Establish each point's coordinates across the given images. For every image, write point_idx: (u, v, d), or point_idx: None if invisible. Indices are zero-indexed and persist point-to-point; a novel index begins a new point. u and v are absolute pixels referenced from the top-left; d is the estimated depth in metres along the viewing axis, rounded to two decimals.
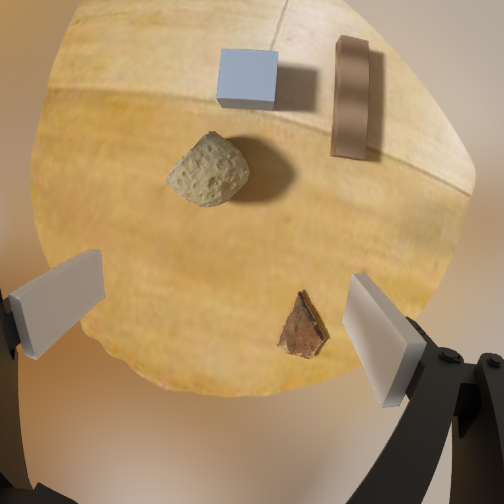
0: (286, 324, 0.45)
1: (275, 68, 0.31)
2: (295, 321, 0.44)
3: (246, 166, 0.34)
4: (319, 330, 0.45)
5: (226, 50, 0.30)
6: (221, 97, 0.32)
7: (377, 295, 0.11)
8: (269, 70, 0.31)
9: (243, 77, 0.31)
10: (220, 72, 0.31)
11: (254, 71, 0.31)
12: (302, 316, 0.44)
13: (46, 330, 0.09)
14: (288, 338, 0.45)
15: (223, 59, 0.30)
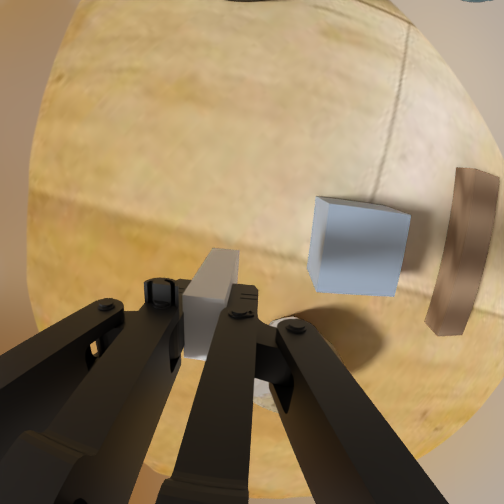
0: None
1: (403, 245, 0.22)
2: None
3: None
4: None
5: (336, 207, 0.21)
6: (324, 291, 0.23)
7: (225, 264, 0.14)
8: (395, 248, 0.22)
9: (358, 260, 0.22)
10: (325, 249, 0.22)
11: (375, 250, 0.22)
12: None
13: None
14: None
15: (331, 225, 0.21)
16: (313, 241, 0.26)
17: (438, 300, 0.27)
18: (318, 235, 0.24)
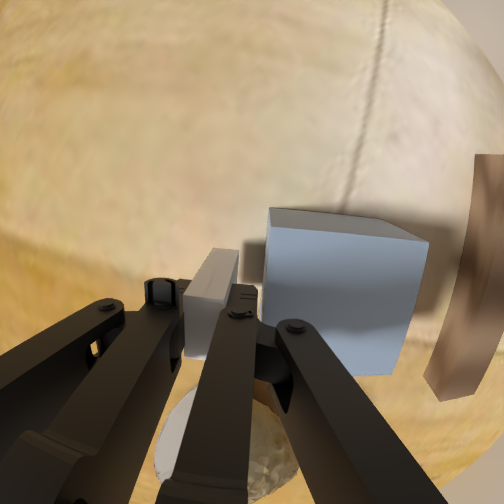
0: None
1: (414, 296, 0.12)
2: None
3: (296, 465, 0.15)
4: None
5: (286, 234, 0.11)
6: None
7: (225, 264, 0.14)
8: (400, 301, 0.12)
9: (331, 325, 0.12)
10: (268, 309, 0.12)
11: (361, 308, 0.12)
12: None
13: None
14: None
15: (276, 267, 0.12)
16: None
17: (444, 352, 0.18)
18: (264, 277, 0.14)
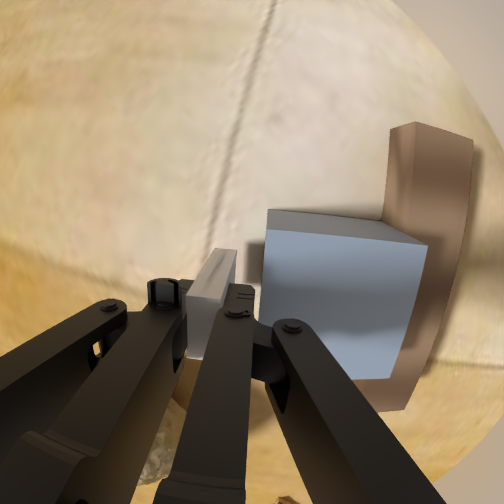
0: None
1: (412, 299, 0.12)
2: None
3: None
4: None
5: (282, 236, 0.11)
6: None
7: (222, 264, 0.14)
8: (397, 305, 0.12)
9: (327, 328, 0.12)
10: (263, 312, 0.12)
11: (358, 311, 0.12)
12: None
13: None
14: None
15: (272, 269, 0.12)
16: None
17: None
18: None
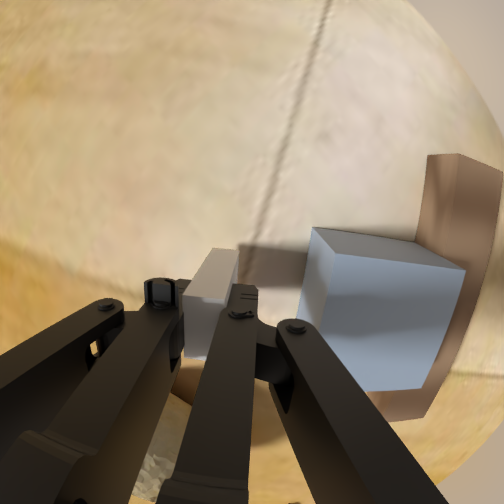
0: None
1: (448, 317, 0.12)
2: None
3: None
4: None
5: (348, 261, 0.11)
6: None
7: (225, 264, 0.14)
8: (436, 323, 0.12)
9: (377, 345, 0.12)
10: (323, 331, 0.12)
11: (405, 329, 0.12)
12: None
13: None
14: None
15: (336, 292, 0.12)
16: (304, 300, 0.17)
17: None
18: (312, 297, 0.14)
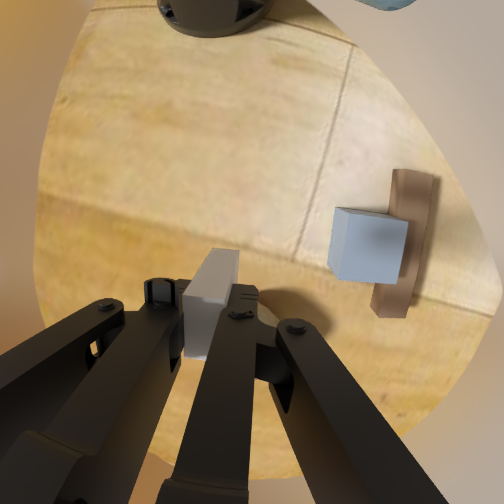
0: None
1: (403, 244, 0.29)
2: None
3: None
4: None
5: (354, 216, 0.28)
6: (344, 279, 0.30)
7: (225, 264, 0.14)
8: (397, 247, 0.29)
9: (369, 255, 0.29)
10: (345, 247, 0.29)
11: (381, 248, 0.29)
12: None
13: None
14: None
15: (350, 229, 0.28)
16: (333, 242, 0.33)
17: (379, 286, 0.34)
18: (338, 237, 0.31)
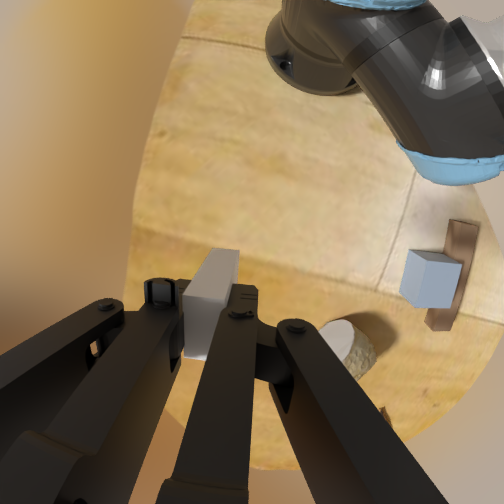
0: None
1: (457, 280, 0.35)
2: None
3: (376, 356, 0.39)
4: None
5: (429, 262, 0.35)
6: (418, 306, 0.37)
7: (225, 264, 0.14)
8: (453, 282, 0.36)
9: (436, 289, 0.36)
10: (422, 284, 0.36)
11: (443, 284, 0.36)
12: None
13: None
14: None
15: (426, 272, 0.35)
16: (407, 277, 0.40)
17: None
18: (414, 275, 0.38)
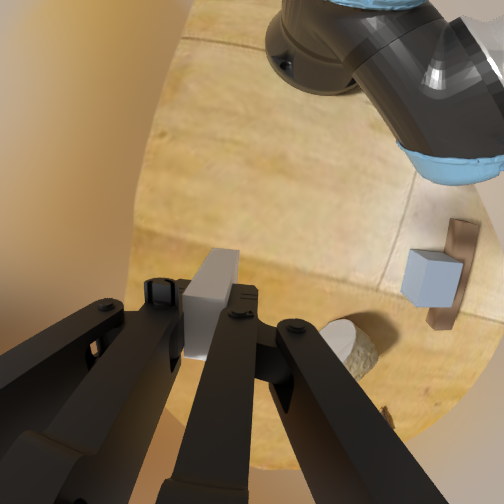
0: None
1: (458, 279, 0.35)
2: None
3: (377, 355, 0.39)
4: None
5: (430, 262, 0.35)
6: (419, 306, 0.37)
7: (225, 264, 0.14)
8: (454, 281, 0.35)
9: (437, 288, 0.36)
10: (423, 284, 0.36)
11: (445, 283, 0.36)
12: None
13: None
14: None
15: (427, 271, 0.35)
16: (408, 276, 0.40)
17: None
18: (415, 274, 0.38)
